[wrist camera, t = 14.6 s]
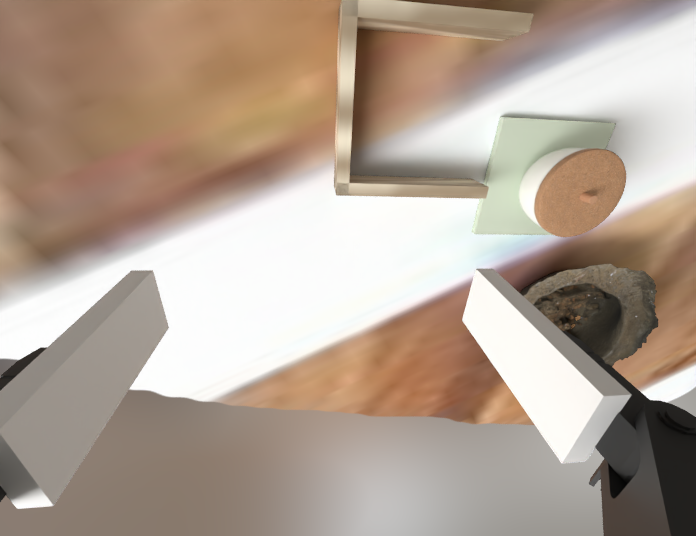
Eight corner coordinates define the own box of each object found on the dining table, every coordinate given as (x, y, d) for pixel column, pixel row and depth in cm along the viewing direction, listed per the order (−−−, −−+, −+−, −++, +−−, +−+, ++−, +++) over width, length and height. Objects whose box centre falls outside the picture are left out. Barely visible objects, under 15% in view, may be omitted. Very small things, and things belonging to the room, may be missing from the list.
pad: (500, 116, 40) (504, 117, 39) (609, 122, 42) (616, 123, 41) (471, 231, 48) (474, 234, 47) (565, 232, 50) (570, 235, 49)
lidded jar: (586, 137, 42) (654, 145, 34) (567, 213, 47) (622, 236, 39) (510, 146, 41) (559, 157, 33) (499, 222, 46) (540, 247, 38)
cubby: (338, 9, 34) (342, -5, 29) (506, 24, 36) (533, 13, 31) (334, 185, 42) (336, 195, 38) (468, 189, 45) (486, 198, 40)
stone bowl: (626, 318, 60) (671, 354, 52) (501, 369, 66) (525, 409, 58) (606, 217, 48) (660, 244, 40) (458, 291, 55) (479, 326, 47)
